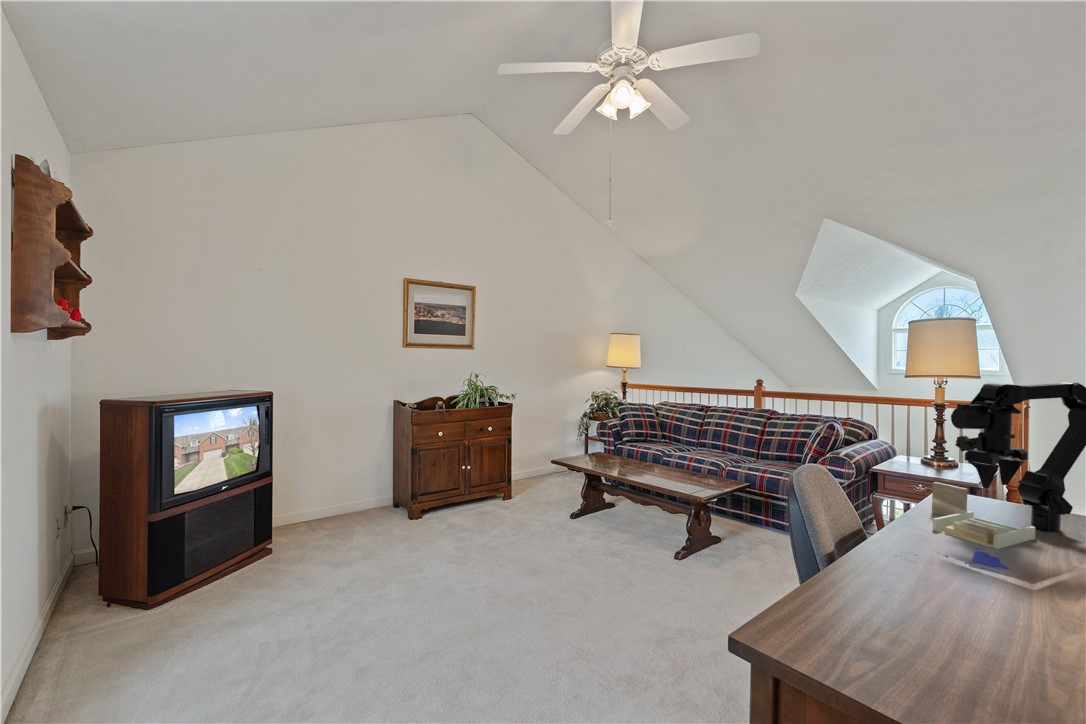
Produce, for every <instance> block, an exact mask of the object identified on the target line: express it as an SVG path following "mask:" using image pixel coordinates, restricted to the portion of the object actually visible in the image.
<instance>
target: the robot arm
mask: <svg viewBox="0 0 1086 724" xmlns="http://www.w3.org/2000/svg"><path fill="white" fill-rule="evenodd" d="M1060 398H1061V401H1062V404H1063V405H1064V406H1065V407H1066V408H1067V409H1068V410H1069V411H1068V413H1067V419H1068V427H1067V428H1066V430H1065V431H1064V433H1063V434H1062V435H1061V436H1060V438H1059V440H1058V442H1057V443H1056V445H1055V446H1054V447H1053V449H1052V450H1051V452H1050V453H1049V455H1048V456H1047V458H1046V459H1045V461H1044V463H1043V464H1042V465H1041V467H1040V468H1039V469H1038V470H1035V471H1030V470H1026V471H1025V472H1024V474H1023V476H1022V477H1021V478H1020V480H1019V481H1017V482H1018V486H1017V491H1018V494H1019V495H1020V497H1021V500H1022V502H1023V504H1024V505H1025V506H1026V505H1027V506H1030V507H1031V511H1030V513H1031V515H1030V526H1033V527H1035V531H1037V530H1038V531H1040V532H1046V533H1047V532H1051V533H1060V532H1061V527H1062V526H1061V524H1062V521H1061V520H1062V515H1063V516H1064V515H1071V512H1072V510H1073V508H1074V507H1073V506H1072V505H1071V504H1070V502H1069V501H1068V500H1067V499H1066V498H1065V497H1064V494H1065V492H1066V485H1065V478H1066V477H1067V475H1068V473H1069V472H1070V470H1071V469H1072V468H1073V466H1074V464H1075V463H1076V462H1077V460H1078V458H1079V457H1080V455H1081V454H1082V452H1083V451H1084V449H1085V448H1086V387H1085V385H1084V384H1082V383H1079V382H1070V381H1069V382H1068V381H1066V382H1065V381H1062V382H1056V383H1039V384H1023V385H1018V384H1011V383H1010V384H1009V383H995V382H993V383H992V382H988V383H984V384H982V387H981V388H980V390H979V392H978V393H977V394H976V395H975V396H974V398H973V399H972V400H971V401H970V403H969V404H968V403H957V405H956V408H954V410H953V411H952V412H951V414H950V420H951V423H952V425H953V426H954V427H955V428H956V429H959V430H960V429H962V430H963V429H964V430H982V431H979V432H978V434H977V436H976V437H972V438H969V436H967V435H962V436H957V437H956V440H955V445H954V446H955V447H957V448H959V450H960V452H964V461H966V462H967V463H968V464H969V465H970V464H971V465H972V466H973V467H974V468H975V469H976V472H977V474H978V477H979V479H980V484H981V485H982V487H983V489H989V488H990V486H991V484H992V483H993V480H994V478H995V476H996V474H997V472H998V469H999V475H1000V476H999V477H1000V482H1001V485H1002V486H1008V485H1009V483H1010V482H1011V481H1012V479H1013V477H1014V476H1015V474H1016V473H1017V472H1018V470H1019V469H1020V468H1021V467H1022V465H1023V464H1024V463H1025V461H1026V460H1027V461H1028V456H1029V455H1028V451H1026V450H1025V449H1024V448H1020V447H1019V448H1018V447H1012V439H1015V438H1016V437H1015V436H1016V434H1015V433H1014V434H1013V433H1012V419H1013V418H1012V417H1013V415H1014V414H1015V415H1018V414H1019V415H1020V414H1021V413H1022V411H1021V410H1020V409H1018V408H1017V407H1016V406H1015V405H1017V404H1018V405H1019V404H1021V403H1023V402H1025V401H1030V400H1043V399H1046V400H1047V399H1060Z"/></svg>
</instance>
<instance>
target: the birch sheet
mask: <svg viewBox="0 0 1086 724" xmlns="http://www.w3.org/2000/svg"><path fill="white" fill-rule="evenodd" d="M968 489H969V488H966V487H960V486H957V485H952V484H946V483H942V482H937V481H934V482H932V499H931V502H932V503H931V513H933V514H935V515H940V516H941V517H943V516H948V515H953V514H958V513H963V512H968Z"/></svg>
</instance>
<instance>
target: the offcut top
mask: <svg viewBox="0 0 1086 724" xmlns="http://www.w3.org/2000/svg"><path fill="white" fill-rule="evenodd" d="M954 529H958V530H961V531H965V532H968V533H972V534H975V535H979V536H983V537H990V536H994V535H997V529H996V528H992V527H988V526H984V525H980V524H977V523H973V522H969V521H965V520H963V521H959V522H954Z"/></svg>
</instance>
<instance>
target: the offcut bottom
mask: <svg viewBox="0 0 1086 724" xmlns="http://www.w3.org/2000/svg"><path fill="white" fill-rule="evenodd" d="M945 533H947V534H946V535H948V534H951V535H950V536H952V535H954V536H953V537H955V536H958V537H961V538H960V539H962V538H965V539H968V540H967V541H969V540H971V541H970V542H972V541H975V542H978V543H977V544H979V543H982V544H985V545H984V546H986V545H988V544H991V543H994V536H990V537H983V536H979V535H975V534H972V533H968V532H965V531H961V530H958V529H954V525H951V526H947V527H945V532H944V533H943V534H945ZM958 537H957V538H958ZM965 539H964V540H965ZM975 542H974V543H975ZM982 544H981V545H982Z"/></svg>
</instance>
